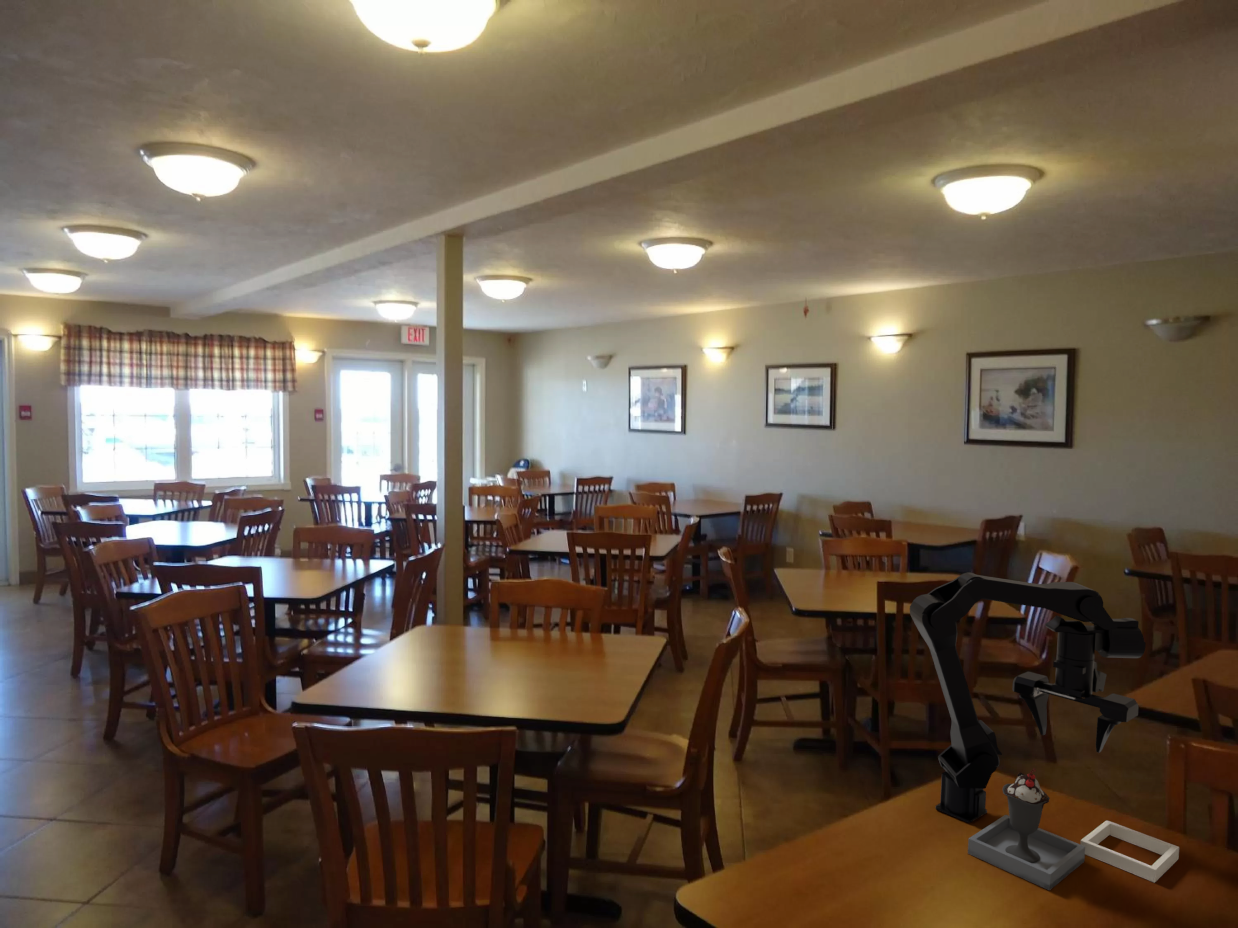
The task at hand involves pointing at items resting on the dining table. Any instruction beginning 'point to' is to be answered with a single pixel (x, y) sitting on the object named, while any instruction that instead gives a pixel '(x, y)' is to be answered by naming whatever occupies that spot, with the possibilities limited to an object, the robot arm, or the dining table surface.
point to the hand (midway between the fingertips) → (1070, 742)
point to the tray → (1052, 849)
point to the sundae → (1025, 812)
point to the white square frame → (1124, 862)
